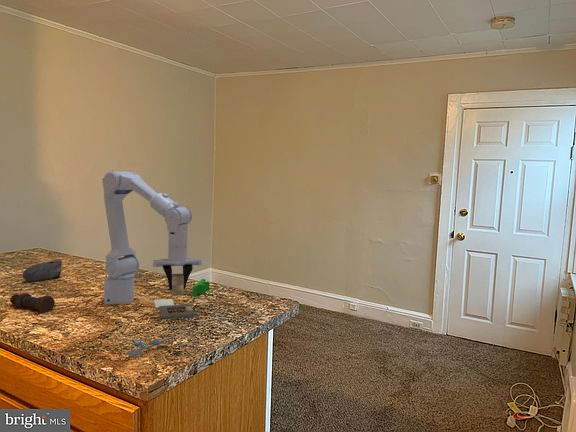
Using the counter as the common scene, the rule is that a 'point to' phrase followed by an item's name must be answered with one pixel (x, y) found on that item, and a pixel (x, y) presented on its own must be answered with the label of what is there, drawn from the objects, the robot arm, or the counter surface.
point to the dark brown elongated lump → (33, 302)
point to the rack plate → (165, 313)
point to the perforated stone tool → (43, 271)
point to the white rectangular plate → (163, 302)
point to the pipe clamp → (200, 287)
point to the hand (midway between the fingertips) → (177, 288)
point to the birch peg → (177, 284)
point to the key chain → (138, 351)
